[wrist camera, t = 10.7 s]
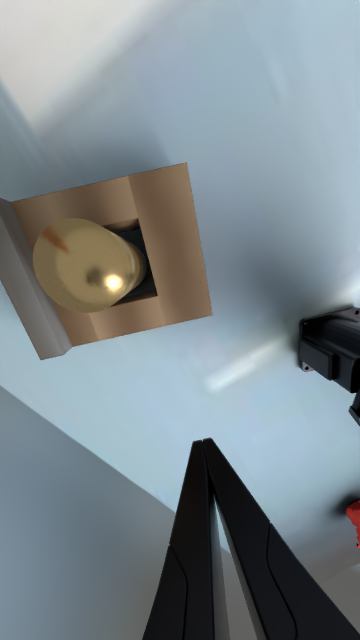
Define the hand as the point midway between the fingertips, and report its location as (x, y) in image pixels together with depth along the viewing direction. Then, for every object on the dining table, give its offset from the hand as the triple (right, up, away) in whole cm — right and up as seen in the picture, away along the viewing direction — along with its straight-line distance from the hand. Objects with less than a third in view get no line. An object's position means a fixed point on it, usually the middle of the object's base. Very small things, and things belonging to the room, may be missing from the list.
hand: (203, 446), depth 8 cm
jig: (-6, +11, +9) cm, 16 cm away
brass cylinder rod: (-6, +11, +9) cm, 16 cm away
